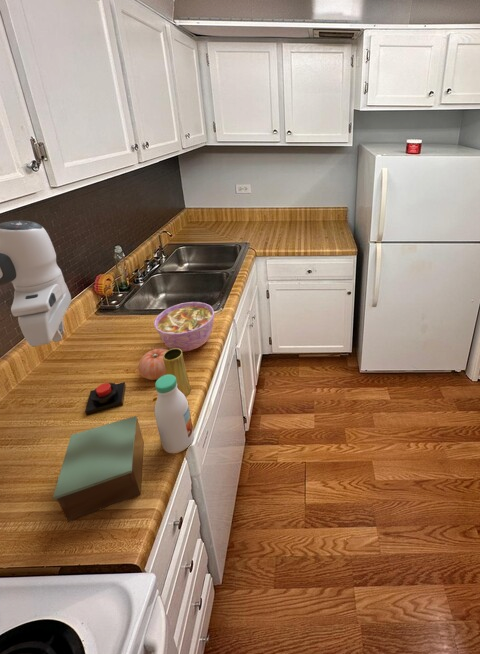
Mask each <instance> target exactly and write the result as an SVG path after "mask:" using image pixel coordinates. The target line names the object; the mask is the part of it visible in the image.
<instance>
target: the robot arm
mask: <svg viewBox="0 0 480 654" xmlns="http://www.w3.org/2000/svg"><path fill="white" fill-rule="evenodd" d="M9 283H11V284H12V286H13V289H14V292H13V295H14V296H13V301H12V304H11V307H10V311H11V315H12V316H13V317H17V320H18V322H17V323H18V325H19V328H20V330H21V333H22V335H23V337H24V340H25V341H26V343H27V345H28V346H31V347H32V348H35V347H41V346H45V345H49V344H51V343H52V342H53V343H57V342H58V343H59V342H62V340H63V338H64V336H65V334H66V332H65V329H64V317H65V316H66V313H67V311H68V309H69V307H70V305H71V303H72V295H71V292H70V291H69V288H68V285H67V284H66V282H65V278H64V274H63V272H62V269H61V268H60V267H59V265H58V263H57V253H56V251H55V247H54V244H53V242H52V240H51V237H50V236H49V233H48V232H47V230H46V229H45V228H44V227H43V226H42V225H41V224H39V223H37V222H34V221H29V220H11V221H4V222H1V223H0V287H2V286H5V285H7V284H9Z"/></svg>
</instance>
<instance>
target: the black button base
mask: <svg viewBox="0 0 480 654" xmlns="http://www.w3.org/2000/svg"><path fill="white" fill-rule="evenodd" d="M108 383H109V384H110V385H111V389H112V391H111V392H110V393H109V394H108V395H106V396H103V397H99V396H98V395H97V392H96V389H97V387H96V388H95V389H92V390H90V392H89V396H88V398H87V402H86V407H85V410H84V413H85V415H86V416H90V415H94V414H98V413H101V412H104V411H108V410H111V409H115V408H119V407H123V406H124V401H125V393H126V386H127V385H126V382H125V381H123V382H119V383H115V382H108Z"/></svg>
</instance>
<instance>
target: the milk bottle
mask: <svg viewBox="0 0 480 654" xmlns="http://www.w3.org/2000/svg"><path fill="white" fill-rule="evenodd" d="M154 387H155V390H156V393H157V398H156V401H155V405H154V418H155V423H156V427H157V432H158V435H159V439H160V443H161V447H162V449H163V450H164V451H165V452H166V453H169V454H178V453H181V452H183V451H185V450H186V449H188V447H189V446H190V445H191V444H192V442H193V440H194V437H195V433H194V426H193V421H192V415H191V410H190V406H189V403H188V399H187V396H184V394H183V393H182V392H181V391H180V390H179V389H178V388H177V380H176V377H175V376H174V375H170V374H169V375H164V376H162V377H160V378H159V379H156V381H155V383H154Z"/></svg>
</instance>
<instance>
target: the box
mask: <svg viewBox="0 0 480 654" xmlns="http://www.w3.org/2000/svg"><path fill="white" fill-rule="evenodd" d="M144 449H145V440H144V437H143V434H142V430H141V427H140V423H139V419H138V418H137V423H136V434H135V445H134V456H133V466H132V473H129V474H126V475H123V476H120V477H118V478H115V479H112V480H109V481H106V482H103V483H100V484H98V485H95V486H92V487H89V488H86V489H83V490H81V491H78V492H75V493H72V494H69V495H66V496H63V497H61V498H58V499H56V500H57V502H58V504H59V506H60V509H61V510H62V512H63V515H64V517H65V519H66V521H67V522H68V523H69V522H72V521H74V520H78V519H80V518H82V517H85V516H88V515H90V514H94V513H96V512H99V511H101V510H103V509H107V508H108V507H112V506H114V505H117V504H119V503H123V502H125V501H128V500H130V499H133V498H136V497H139V496H140V495H142V480H143V465H144Z"/></svg>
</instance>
